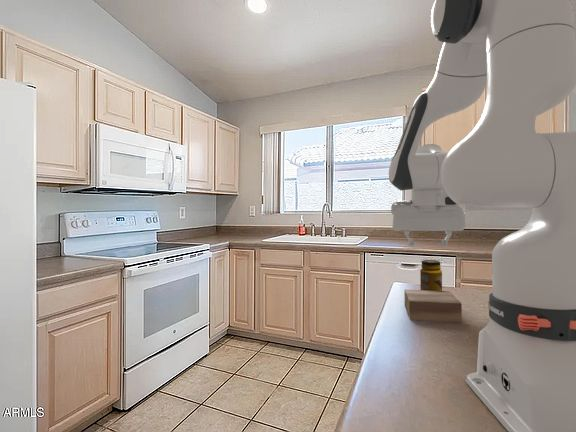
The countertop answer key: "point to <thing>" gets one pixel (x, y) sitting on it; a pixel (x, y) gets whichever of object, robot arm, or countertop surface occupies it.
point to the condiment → (431, 276)
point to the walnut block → (433, 306)
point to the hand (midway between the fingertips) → (427, 245)
